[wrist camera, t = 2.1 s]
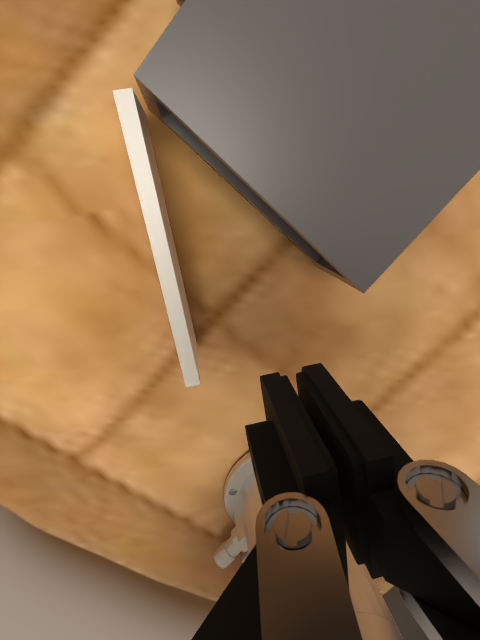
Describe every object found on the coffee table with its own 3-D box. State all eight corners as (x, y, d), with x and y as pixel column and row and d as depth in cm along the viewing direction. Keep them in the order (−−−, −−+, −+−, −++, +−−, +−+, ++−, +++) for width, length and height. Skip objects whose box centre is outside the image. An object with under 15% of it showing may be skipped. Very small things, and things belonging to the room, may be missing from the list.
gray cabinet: (321, 269, 32) (363, 293, 24) (131, 93, 25) (109, 52, 18) (457, 117, 29) (552, 91, 21) (283, -124, 22) (333, -281, 15)
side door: (185, 345, 32) (185, 387, 25) (131, 117, 25) (112, 90, 18) (196, 343, 32) (200, 384, 25) (145, 115, 25) (131, 87, 18)
